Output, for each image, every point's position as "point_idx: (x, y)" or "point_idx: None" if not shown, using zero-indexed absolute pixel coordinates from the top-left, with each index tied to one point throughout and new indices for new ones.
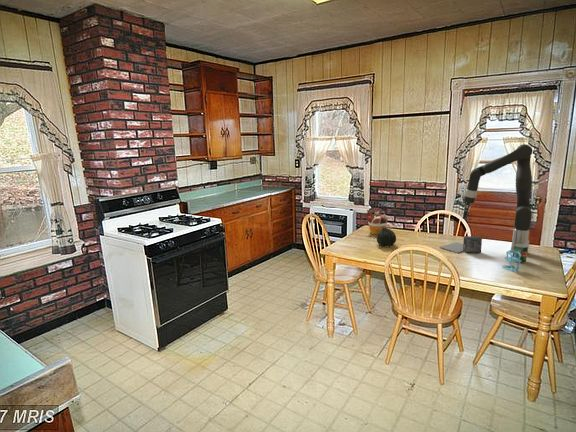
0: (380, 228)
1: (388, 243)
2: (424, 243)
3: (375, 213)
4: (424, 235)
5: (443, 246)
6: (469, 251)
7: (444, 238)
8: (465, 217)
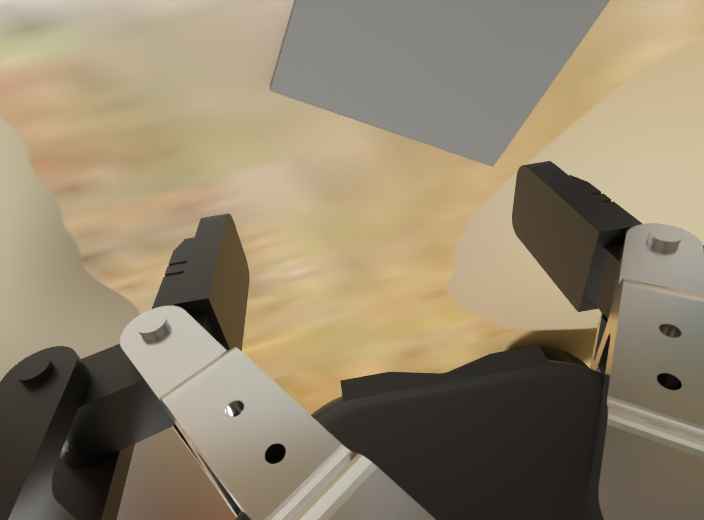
0: None
1: (586, 365)
2: (418, 265)
3: None
4: None
5: (470, 145)
6: None
7: (192, 211)
8: (581, 180)
